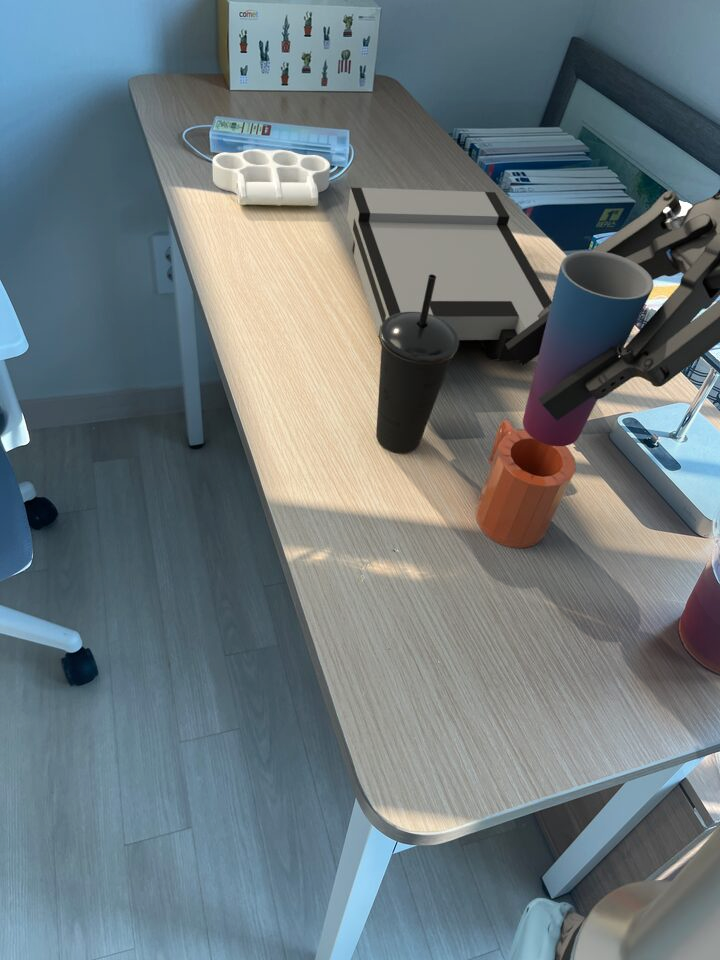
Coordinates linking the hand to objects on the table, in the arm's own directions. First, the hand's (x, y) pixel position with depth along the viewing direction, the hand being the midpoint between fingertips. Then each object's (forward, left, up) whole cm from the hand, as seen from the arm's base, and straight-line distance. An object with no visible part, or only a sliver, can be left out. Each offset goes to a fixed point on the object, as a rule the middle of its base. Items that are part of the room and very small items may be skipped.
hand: (530, 381), depth 61 cm
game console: (+36, -9, -18) cm, 41 cm away
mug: (+2, -4, -18) cm, 19 cm away
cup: (0, -3, -5) cm, 6 cm away
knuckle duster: (+69, +8, -18) cm, 72 cm away
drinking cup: (+13, +4, -18) cm, 23 cm away
